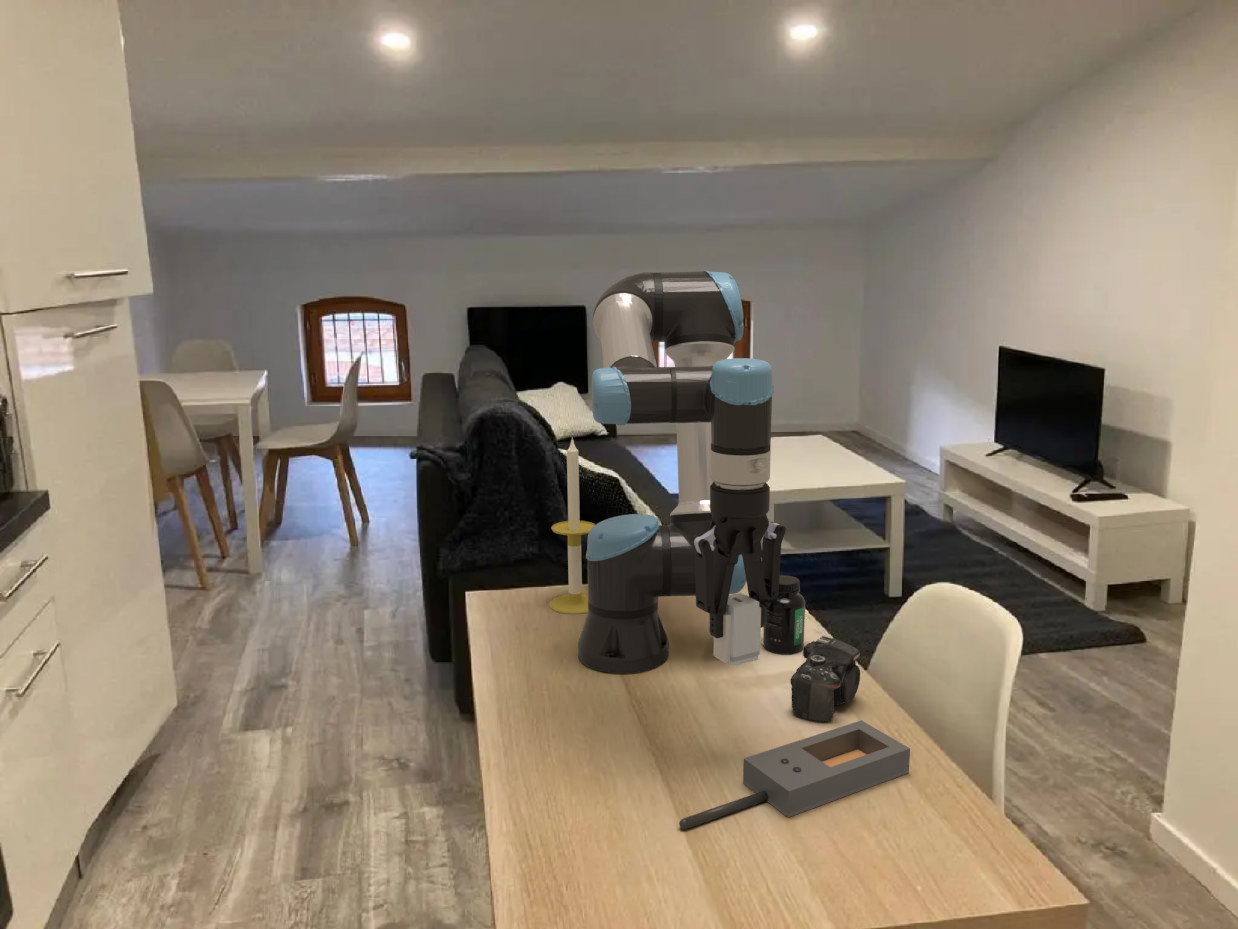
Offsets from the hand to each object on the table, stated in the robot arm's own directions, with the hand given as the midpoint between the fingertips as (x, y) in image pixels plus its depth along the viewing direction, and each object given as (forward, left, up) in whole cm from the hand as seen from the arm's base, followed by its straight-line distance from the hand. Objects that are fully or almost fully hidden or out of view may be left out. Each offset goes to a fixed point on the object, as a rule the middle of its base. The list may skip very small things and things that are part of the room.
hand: (736, 654), depth 132 cm
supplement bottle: (-25, +29, -15) cm, 41 cm away
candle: (-61, +8, -15) cm, 64 cm away
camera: (-6, +21, -15) cm, 26 cm away
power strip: (+11, +1, -15) cm, 18 cm away
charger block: (0, 0, 0) cm, 0 cm away
